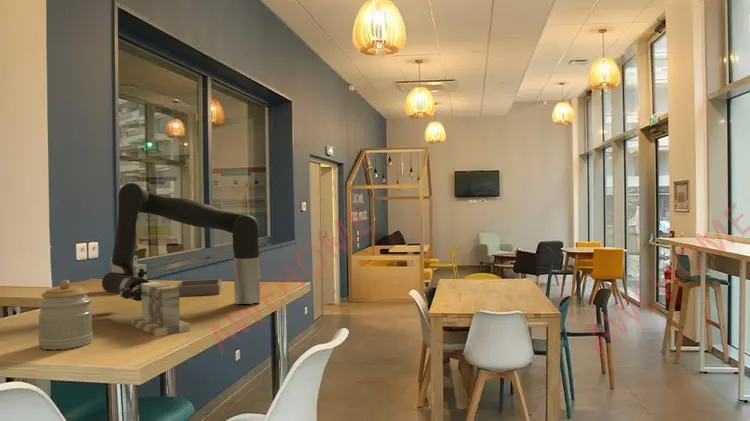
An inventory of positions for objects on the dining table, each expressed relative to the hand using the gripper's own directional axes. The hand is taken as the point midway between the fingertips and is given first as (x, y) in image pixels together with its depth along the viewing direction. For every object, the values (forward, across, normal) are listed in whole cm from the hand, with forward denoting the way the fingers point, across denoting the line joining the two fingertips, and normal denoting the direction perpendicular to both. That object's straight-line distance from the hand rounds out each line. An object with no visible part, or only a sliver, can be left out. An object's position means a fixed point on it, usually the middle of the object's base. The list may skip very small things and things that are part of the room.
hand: (154, 293), depth 172 cm
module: (-2, 0, +8) cm, 8 cm away
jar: (+5, -26, +10) cm, 28 cm away
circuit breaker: (-76, +19, +10) cm, 79 cm away
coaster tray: (-50, +38, +10) cm, 64 cm away
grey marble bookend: (+4, 0, +10) cm, 11 cm away
